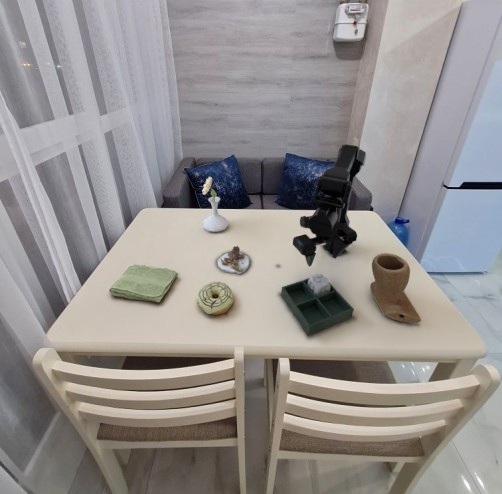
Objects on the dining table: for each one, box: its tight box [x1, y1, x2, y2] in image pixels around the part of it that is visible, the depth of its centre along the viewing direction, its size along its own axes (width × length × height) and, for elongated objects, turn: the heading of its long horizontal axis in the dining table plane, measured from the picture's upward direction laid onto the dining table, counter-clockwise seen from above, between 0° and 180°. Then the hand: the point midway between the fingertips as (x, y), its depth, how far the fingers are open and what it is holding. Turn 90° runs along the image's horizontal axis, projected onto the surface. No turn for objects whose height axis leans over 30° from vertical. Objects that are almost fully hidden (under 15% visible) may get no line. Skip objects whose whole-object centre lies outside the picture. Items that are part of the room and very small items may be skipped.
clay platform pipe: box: [370, 252, 422, 324], centre depth 76 cm, size 15×12×15 cm
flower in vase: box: [201, 176, 229, 233], centre depth 110 cm, size 13×11×25 cm
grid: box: [280, 273, 355, 337], centre depth 78 cm, size 15×15×3 cm
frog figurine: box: [216, 245, 250, 275], centre depth 95 cm, size 12×12×4 cm
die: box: [308, 274, 331, 297], centre depth 81 cm, size 5×5×5 cm
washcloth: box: [108, 264, 179, 303], centre depth 84 cm, size 13×18×3 cm
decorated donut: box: [196, 281, 234, 315], centre depth 78 cm, size 10×11×4 cm
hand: (321, 261), depth 79 cm, fingers open, 9 cm apart
